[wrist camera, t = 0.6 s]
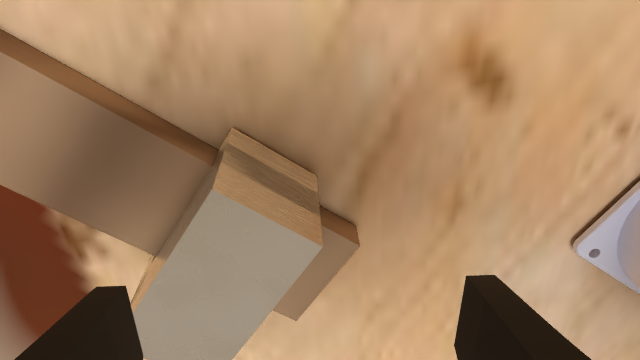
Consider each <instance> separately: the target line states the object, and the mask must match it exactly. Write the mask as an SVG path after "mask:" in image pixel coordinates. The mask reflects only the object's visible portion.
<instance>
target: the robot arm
mask: <svg viewBox="0 0 640 360" xmlns="http://www.w3.org/2000/svg"><path fill="white" fill-rule="evenodd" d="M593 249H595V250H594V251H592V252H590V251H591V250H593ZM573 250H574V251H575V252H576V253H577V254H578V255H579V256H580V257H582V258H583V259H585V260H587V261H588V262H590V263H591V264H593V265H594V266H596V267H598V268H599V269H601V270H602V271H604V272H605V273H607V274H608V275H610V276H612V277H613V278H615V279H616V280H618V281H619V282H621V283H623V284H624V285H626V286H627V287H629V288H630V289H632V290H633V291H635V292H637V293H638V294H640V181H639V182H638V183H637V184H636V185H635V186H634V187H633V188H631V189H630V190H629V191H628V192H627V193H626V194H625V195H624V196H623V197H622V198H621V199H620V200H618V201H617V202H616V203H615V204H614V205H613V206H612V207H611V208H610V209H609V210H608V211H607V212H605V213H604V214H603V215H602V216H601V217H600V218H599V219H598V220H597V221H596V222H595V223H594V224H593V225H591V226H590V227H589V228H588V229H587V230H586V231H585V232H584V233H583V234H582V235H581V236H580V237H578V238H577V239H576V241H575V242H574V244H573ZM454 346H455V350H456V354H457V358H458V360H591V359H590V358H589V357H588V356H586V355H585V354H584V353H583V352H581V351H580V350H579V349H578V348H577V347H576V346H574V345H573V344H572V343H571V342H570V341H568V340H567V339H566V338H565V337H564V336H563V335H561V334H560V333H559V332H558V331H557V330H556V329H555V328H553V327H552V326H551V325H550V324H549V323H548V322H547V321H545V320H544V319H543V318H542V317H541V316H540V315H539V314H538V313H536V312H535V311H534V310H533V309H532V308H531V307H530V306H529V305H528V304H526V303H525V302H524V301H523V300H522V299H521V298H520V297H519V296H518V295H517V294H515V293H514V292H513V291H512V290H511V289H510V288H509V287H508V286H507V285H505V284H504V283H503V282H502V281H501V280H500V279H499V278H497V277H496V276H495V275H479V276H466V280H465V286H464V292H463V297H462V303H461V309H460V315H459V321H458V326H457V332H456V338H455V344H454ZM143 356H144V355H143V352H142V348H141V344H140V340H139V336H138V332H137V328H136V324H135V320H134V316H133V312H132V308H131V305H130V301H129V297H128V293H127V289H126V286H108V287H96V288H95V289H93V290H92V291H91V292H90V293H89V294H87V295H86V296H85V297H84V298H83V299H82V300H81V301H80V302H79V303H77V304H76V305H75V306H74V307H73V308H72V309H71V310H70V311H68V312H67V313H66V314H65V315H64V316H63V317H62V318H61V319H60V320H58V321H57V322H56V323H55V324H54V325H53V326H52V327H51V328H50V329H49V330H47V331H46V332H45V333H44V334H43V335H42V336H41V337H40V338H39V339H37V340H36V341H35V342H34V343H33V344H32V345H30V346H29V347H28V348H27V349H26V350H25V351H24V352H23V353H21V354H20V355H19V356H18V357H17V358H16V359H15V360H143Z"/></svg>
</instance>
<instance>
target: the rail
mask: <svg viewBox="0 0 640 360" xmlns="http://www.w3.org/2000/svg"><path fill="white" fill-rule="evenodd" d="M218 152H219V150H217V149H216V148H214V147H212V146H210V145H208V144H206V143H205V142H203V141H201V140H199V139H197V138H196V137H194V136H192V135H190V134H188V133H187V132H185V131H183V130H181V129H179V128H178V127H176V126H174V125H172V124H170V123H169V122H167V121H165V120H163V119H161V118H160V117H158V116H156V115H154V114H152V113H150V112H149V111H147V110H145V109H143V108H141V107H140V106H138V105H136V104H134V103H132V102H131V101H129V100H127V99H125V98H123V97H122V96H120V95H118V94H116V93H114V92H113V91H111V90H109V89H107V88H105V87H104V86H102V85H100V84H98V83H96V82H94V81H93V80H91V79H89V78H87V77H85V76H84V75H82V74H80V73H78V72H76V71H75V70H73V69H71V68H69V67H67V66H66V65H64V64H62V63H60V62H58V61H57V60H55V59H53V58H51V57H49V56H47V55H46V54H44V53H42V52H40V51H38V50H37V49H35V48H33V47H31V46H29V45H28V44H26V43H24V42H22V41H20V40H19V39H17V38H15V37H13V36H11V35H10V34H8V33H6V32H4V31H2V30H1V29H0V185H2V186H4V187H6V188H9V189H11V190H13V191H15V192H17V193H19V194H21V195H24V196H26V197H28V198H30V199H32V200H35V201H37V202H39V203H41V204H43V205H45V206H48V207H50V208H52V209H54V210H56V211H58V212H61V213H63V214H65V215H67V216H69V217H71V218H74V219H76V220H78V221H80V222H82V223H85V224H87V225H89V226H91V227H93V228H95V229H98V230H100V231H102V232H104V233H106V234H108V235H111V236H113V237H115V238H117V239H119V240H122V241H124V242H126V243H128V244H130V245H132V246H135V247H137V248H139V249H141V250H143V251H145V252H148V253H150V254H152V255H154V256H157V254H158V253H159V251H160V249H161V248H162V246H163V245H164V243H165V241H166V240H167V238H168V237H169V235H170V233H171V232H172V230H173V229H174V227H175V225H176V224H177V222H178V221H179V219H180V217H181V216H182V214H183V213H184V211H185V209H186V208H187V206H188V205H189V203H190V201H191V200H192V198H193V197H194V195H195V193H196V192H197V190H198V189H199V187H200V185H201V184H202V182H203V181H204V179H205V177H206V176H207V174H208V173H209V171H210V169H211V168H212V166H213V165H214V163H215V160H216V157H217V154H218ZM320 218H321V230H322V242H323V248H322V249H321V250H320V251H319V253H318V254H317V255H316V256H315V257H314V259H313V260H312V261H311V262H310V264H309V265H308V266H307V267H306V269H305V270H304V271H303V272H302V274H301V275H300V276H299V277H298V279H297V280H296V281H295V282H294V284H293V285H292V286H291V287H290V288H289V290H288V291H287V292H286V293H285V295H284V296H283V297H282V298H281V300H280V301H279V302H278V303H277V305H276V306H275V307H274V308H273V310H274V311H276V312H278V313H280V314H282V315H285V316H287V317H289V318H291V319H293V320H295V321H297V320H298V318H299V317H300V316H301V315H302V314H303V313H304V311H305V310H306V309H307V308H308V307H309V306H310V304H311V303H312V302H313V301H314V300H315V298H316V297H317V296H318V295H319V294H320V293H321V291H322V290H323V289H324V288H325V287H326V285H327V284H328V283H329V282H330V281H331V280H332V278H333V277H334V276H335V275H336V274H337V272H338V271H339V270H340V269H341V268H342V267H343V265H344V264H345V263H346V262H347V261H348V259H349V258H350V257H351V256H352V255H353V254H354V252H355V251H356V250H357V249H358V248H359V246H360V244H359V239H358V234H357V229H356V226H355V225H353V224H351V223H349V222H347V221H346V220H344V219H342V218H340V217H338V216H337V215H335V214H333V213H331V212H329V211H328V210H326V209H324V208H322V207H320Z"/></svg>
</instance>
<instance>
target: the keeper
mask: <svg viewBox="0 0 640 360" xmlns="http://www.w3.org/2000/svg"><path fill="white" fill-rule="evenodd" d="M322 248H323V242H322V230H321V218H320V206H319V194H318V182H317V176H316V175H314V174H313V173H311V172H309V171H307V170H306V169H304V168H302V167H300V166H299V165H297V164H295V163H293V162H292V161H290V160H288V159H286V158H285V157H283V156H281V155H280V154H278V153H276V152H274V151H273V150H271V149H269V148H267V147H266V146H264V145H262V144H260V143H259V142H257V141H255V140H253V139H252V138H250V137H248V136H246V135H245V134H243V133H241V132H240V131H238V130H236V129H234V128H233V127H232V129H231V130H230V132H229V133H228V135H227V137H226V138H225V140H224V142H223V143H222V145H221V146H220V149H219V152H218V154H217V157H216V160H215V163H214V165H213V166H212V168H211V169H210V171H209V173H208V174H207V176H206V177H205V179H204V181H203V182H202V184H201V185H200V187H199V189H198V190H197V192H196V193H195V195H194V197H193V198H192V200H191V201H190V203H189V205H188V206H187V208H186V209H185V211H184V213H183V214H182V216H181V217H180V219H179V221H178V222H177V224H176V225H175V227H174V229H173V230H172V232H171V233H170V235H169V237H168V238H167V240H166V241H165V243H164V245H163V246H162V248H161V249H160V251H159V253H158V254H157V256H154V255H153V256H152V257H151V259H150V261H149V263H148V265H147V268H146V270H145V272H144V274H143V277H142V279H141V281H140V283H139V286H138V288H137V290H136V293H135V295H134V297H133V299H132V302H131V304H130V305H131V308H132V312H133V316H134V320H135V324H136V328H137V332H138V336H139V340H140V344H141V348H142V352H143V355H144V356H143V358H145V359H147V360H232V359H233V358H234V357H235V355H236V354H237V353H238V352H239V350H240V349H241V348H242V347H243V346H244V344H245V343H246V342H247V341H248V339H249V338H250V337H251V336H252V334H253V333H254V332H255V331H256V329H257V328H258V327H259V326H260V324H261V323H262V322H263V321H264V319H265V318H266V317H267V316H268V315H269V313H270V312H271V311H272V310H273V308H274V307H275V306H276V305H277V303H278V302H279V301H280V300H281V298H282V297H283V296H284V295H285V293H286V292H287V291H288V290H289V288H290V287H291V286H292V285H293V284H294V282H295V281H296V280H297V279H298V277H299V276H300V275H301V274H302V272H303V271H304V270H305V269H306V267H307V266H308V265H309V264H310V262H311V261H312V260H313V259H314V257H315V256H316V255H317V254H318V253H319V251H320V250H321V249H322Z"/></svg>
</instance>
